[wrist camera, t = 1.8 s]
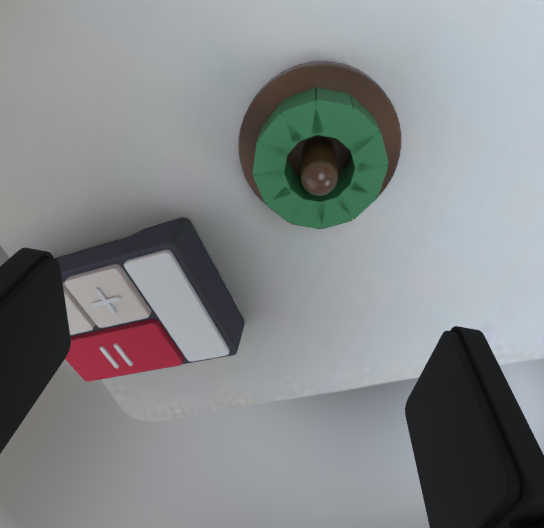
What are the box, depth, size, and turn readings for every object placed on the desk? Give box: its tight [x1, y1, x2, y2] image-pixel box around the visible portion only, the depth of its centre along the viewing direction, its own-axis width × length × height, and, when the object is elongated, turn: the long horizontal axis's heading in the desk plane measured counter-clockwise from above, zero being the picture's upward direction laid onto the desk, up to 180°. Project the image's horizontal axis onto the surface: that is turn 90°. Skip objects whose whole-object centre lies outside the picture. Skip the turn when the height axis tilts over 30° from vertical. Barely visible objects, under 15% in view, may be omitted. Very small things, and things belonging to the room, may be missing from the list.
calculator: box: [56, 218, 244, 381], centre depth 33 cm, size 11×4×15 cm
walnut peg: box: [239, 61, 401, 204], centre depth 24 cm, size 10×10×6 cm
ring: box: [252, 87, 388, 229], centre depth 25 cm, size 7×7×3 cm
